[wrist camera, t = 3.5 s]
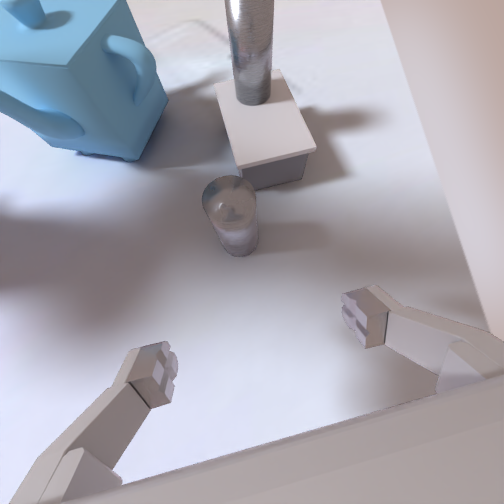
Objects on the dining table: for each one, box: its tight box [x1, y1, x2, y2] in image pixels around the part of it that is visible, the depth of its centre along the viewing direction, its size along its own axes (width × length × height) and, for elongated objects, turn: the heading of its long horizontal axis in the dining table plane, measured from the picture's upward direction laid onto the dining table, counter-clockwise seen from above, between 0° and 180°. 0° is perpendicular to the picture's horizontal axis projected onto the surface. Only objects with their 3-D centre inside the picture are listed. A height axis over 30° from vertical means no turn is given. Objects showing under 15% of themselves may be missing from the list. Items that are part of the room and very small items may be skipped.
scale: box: [214, 69, 317, 190], centre depth 27 cm, size 14×9×6 cm, turn 14°
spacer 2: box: [202, 175, 258, 257], centre depth 21 cm, size 4×4×9 cm
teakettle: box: [0, 0, 168, 162], centre depth 25 cm, size 19×19×15 cm
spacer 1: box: [225, 0, 274, 106], centre depth 21 cm, size 4×4×9 cm
